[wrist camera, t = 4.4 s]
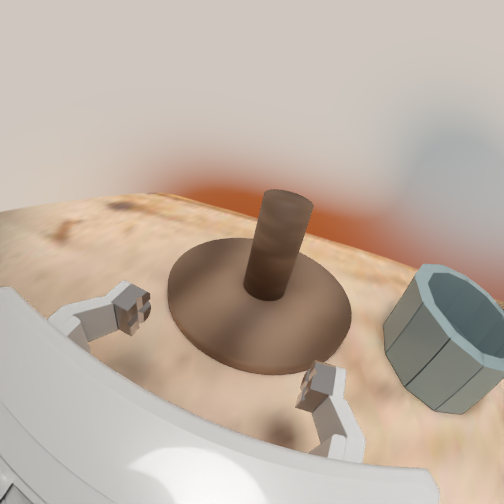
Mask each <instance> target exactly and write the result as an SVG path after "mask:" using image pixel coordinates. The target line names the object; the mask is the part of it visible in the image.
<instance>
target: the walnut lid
mask: <svg viewBox="0 0 504 504" xmlns="http://www.w3.org/2000/svg"><path fill="white" fill-rule="evenodd" d="M313 207H314V206H313V204H312V202H311V201H309V200H308V199H306V198H305V197H303V196H301V195H298V194H295V193H292V192H289V191H284V190H275V189H273V190H267V191H266V192H265V193H264V197H263V201H262V205H261V209H260V213H259V218H258V222H257V226H256V230H255V235H254V239H247V238H228V239H219V240H213V241H210V242H206V243H203V244H200V245H198V246H196V247H194V248H192V249H190V250H188V251H187V252H186V253H184V254H183V255H182V256H181V257H180V258H179V259H178V260H177V261H176V263H175V264H174V265H173V268H172V270H171V272H170V275H169V279H168V302H169V308H170V311H171V314H172V317H173V319H174V320H175V322H176V324H177V326H178V328H179V329H180V330H181V331H182V333H183V334H184V335H185V337H186V338H187V339H188V340H189V341H190V342H191V343H192V344H193V345H194V346H196V347H197V348H198V349H200V350H201V351H202V352H204V353H205V354H206V355H208V356H210V357H211V358H213V359H215V360H217V361H218V362H220V363H223V364H225V365H228V366H230V367H233V368H235V369H239V370H243V371H246V372H250V373H257V374H265V375H283V374H292V373H297V372H301V371H305V370H308V369H310V368H311V364H312V363H313V361H315V360H317V361H320V362H324V361H326V360H327V359H328V358H329V357H330V356H332V355H333V354H334V353H335V351H336V350H337V349H338V347H339V346H340V345H341V343H342V342H343V340H344V338H345V337H346V335H347V333H348V331H349V328H350V324H351V314H352V313H351V306H350V303H349V300H348V297H347V295H346V293H345V291H344V289H343V288H342V286H341V285H340V283H339V282H338V281H337V280H336V279H335V277H334V276H333V275H332V274H331V273H330V272H328V271H327V270H326V269H325V268H324V267H322V266H321V265H320V264H318V263H317V262H315V261H314V260H312V259H311V258H309V257H307V256H306V255H304V254H302V253H299V250H300V247H301V244H302V241H303V238H304V235H305V232H306V229H307V225H308V222H309V219H310V216H311V213H312V210H313Z"/></svg>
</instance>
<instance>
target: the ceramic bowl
mask: <svg viewBox="0 0 504 504" xmlns="http://www.w3.org/2000/svg"><path fill="white" fill-rule="evenodd" d="M383 328H384V341H385V353H386V356H387V357H388V359H389V361H390V362H391V364H392V366H393V368H394V370H395V371H396V373H397V375H398V377H399V378H400V380H401V382H402V384H403V386H406V387H405V388H406V389H407V390H408V391H410V392H411V393H412V394H413V395H415V396H416V397H417V398H418V399H420V400H421V401H422V402H424V403H425V404H426V405H427V406H429V407H430V408H431V409H432V410H435V411H438V412H446V413H454V414H463V413H464V412H466V411H467V410H468V409H470V408H471V407H472V406H473V405H475V404H476V403H477V402H478V401H479V400H481V399H482V398H483V397H484V396H485V395H486V394H487V393H489V392H490V391H491V390H492V389H493V388H494V387H495V386H496V385H497V384H498V383H499V382H500V381H501V380H502V379H503V378H504V311H503V310H502V308H501V307H500V306H499V305H498V304H497V303H496V301H495V300H494V299H493V298H492V297H491V296H490V294H488V293H487V292H486V291H485V290H483V289H482V288H481V287H480V286H479V285H477V284H476V283H475V282H473V281H472V280H471V279H469V278H468V277H467V276H465V275H463V274H461V273H459V272H457V271H455V270H453V269H450V268H448V267H446V266H444V265H436V264H423V265H422V266H421V268H420V269H419V270H418V272H417V273H416V274H415V276H414V277H413V279H412V281H411V282H410V284H409V286H408V287H407V289H406V291H405V292H404V294H403V296H402V297H401V299H400V300H399V302H398V303H397V305H396V307H395V308H394V310H393V311H392V313H391V314H390V316H389V317H388V318H387V320H386V321H385V323H384V325H383Z"/></svg>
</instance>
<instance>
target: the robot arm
mask: <svg viewBox="0 0 504 504" xmlns="http://www.w3.org/2000/svg"><path fill="white" fill-rule="evenodd" d="M149 299H150V293H148V292H146V291H145V290H143V289H141V288H139V287H137V286H135V285H133V284H131V283H130V282H128V281H126V280H123V281H121V282H120V283H119V284H118V285H117V286H116V287H114V288H113V289H112V290H111V291H110V292H109V293H108V294H107V295H105V296H104V297H97V298H93V299H89V300H84V301H80V302H76V303H72V304H68V305H64V306H62V307H61V308H59V309H58V310H57V311H56V312H55V313H54V314H53V315H52V316H50V317H49V318H48V319H45V318H44V317H43V316H42V315H41V314H40V313H39V312H38V311H37V310H35V309H34V308H33V307H32V306H31V305H30V304H29V303H28V302H27V301H26V300H25V299H24V298H23V297H22V296H21V295H20V294H19V293H18V292H17V291H16V290H15V289H14V288H12V287H9V286H8V287H0V504H439V501H440V491H439V488H438V486H437V484H436V482H435V480H434V478H433V477H432V475H431V474H430V472H429V471H428V470H427V469H425V468H408V467H391V466H380V465H371V464H363V456H364V449H365V440H366V439H365V437H364V435H363V433H362V431H361V429H360V427H359V425H358V423H357V421H356V419H355V417H354V415H353V412H352V410H351V408H350V406H349V404H348V402H347V400H345V399H344V390H345V381H346V369H343V368H340V367H336V366H334V365H330V364H327V363H324V362H320V361H317V360H315V361H313V363H312V364H311V369H309V370H307V372H306V374H305V376H304V378H303V380H302V383H301V387H300V388H301V393H300V394H299V395H298V398H297V402H296V406H295V408H298V409H301V410H305V411H308V412H311V413H312V416H313V419H314V423H315V426H316V429H317V432H318V436H319V439H320V442H321V444H320V445H319V446H317V447H316V448H314V449H313V450H311V451H310V452H309V453H304V452H300V451H296V450H293V449H289V448H285V447H282V446H278V445H275V444H272V443H268V442H265V441H262V440H259V439H256V438H253V437H250V436H247V435H245V434H242V433H239V432H236V431H234V430H231V429H229V428H226V427H223V426H221V425H218V424H216V423H214V422H211V421H209V420H207V419H204V418H202V417H200V416H198V415H195V414H193V413H191V412H189V411H187V410H185V409H183V408H181V407H178V406H176V405H174V404H172V403H170V402H169V401H167V400H165V399H163V398H161V397H159V396H157V395H155V394H153V393H152V392H150V391H148V390H146V389H144V388H143V387H141V386H139V385H138V384H136V383H134V382H132V381H131V380H129V379H128V378H126V377H124V376H123V375H121V374H119V373H118V372H116V371H115V370H113V369H112V368H110V367H109V366H107V365H106V364H104V363H103V362H101V361H100V360H98V359H97V358H95V357H94V356H93V355H91V354H90V353H91V349H90V346H89V344H88V342H90V341H92V340H95V339H97V338H99V337H102V336H104V335H107V334H109V333H112V332H114V331H117V330H118V329H119V330H121V331H123V332H124V333H126V334H128V335H130V336H132V335H133V334H134V333H135V332H136V331H137V330H138V328H139V323H143V322H145V320H146V319H147V318H148V316H149V314H150V310H151V305H150V303H149V302H148V300H149Z"/></svg>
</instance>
